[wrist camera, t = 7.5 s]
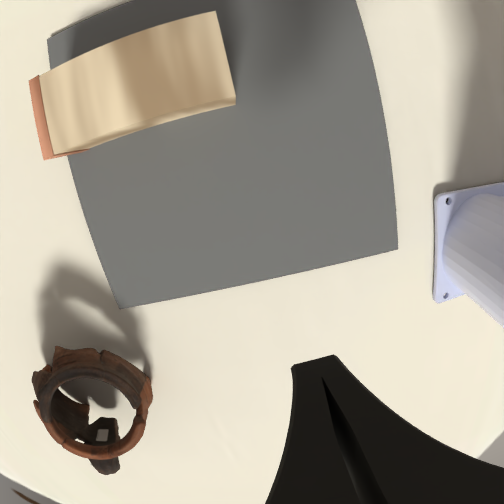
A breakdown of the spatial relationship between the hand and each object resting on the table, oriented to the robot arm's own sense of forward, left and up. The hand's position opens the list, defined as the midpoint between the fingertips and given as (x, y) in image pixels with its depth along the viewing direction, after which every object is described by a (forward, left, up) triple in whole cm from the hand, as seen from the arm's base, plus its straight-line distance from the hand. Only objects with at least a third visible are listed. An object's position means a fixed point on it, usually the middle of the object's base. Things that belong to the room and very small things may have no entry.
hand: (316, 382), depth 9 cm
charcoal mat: (+1, -8, -10) cm, 13 cm away
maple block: (0, -11, -8) cm, 14 cm away
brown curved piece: (+16, +8, -11) cm, 21 cm away
